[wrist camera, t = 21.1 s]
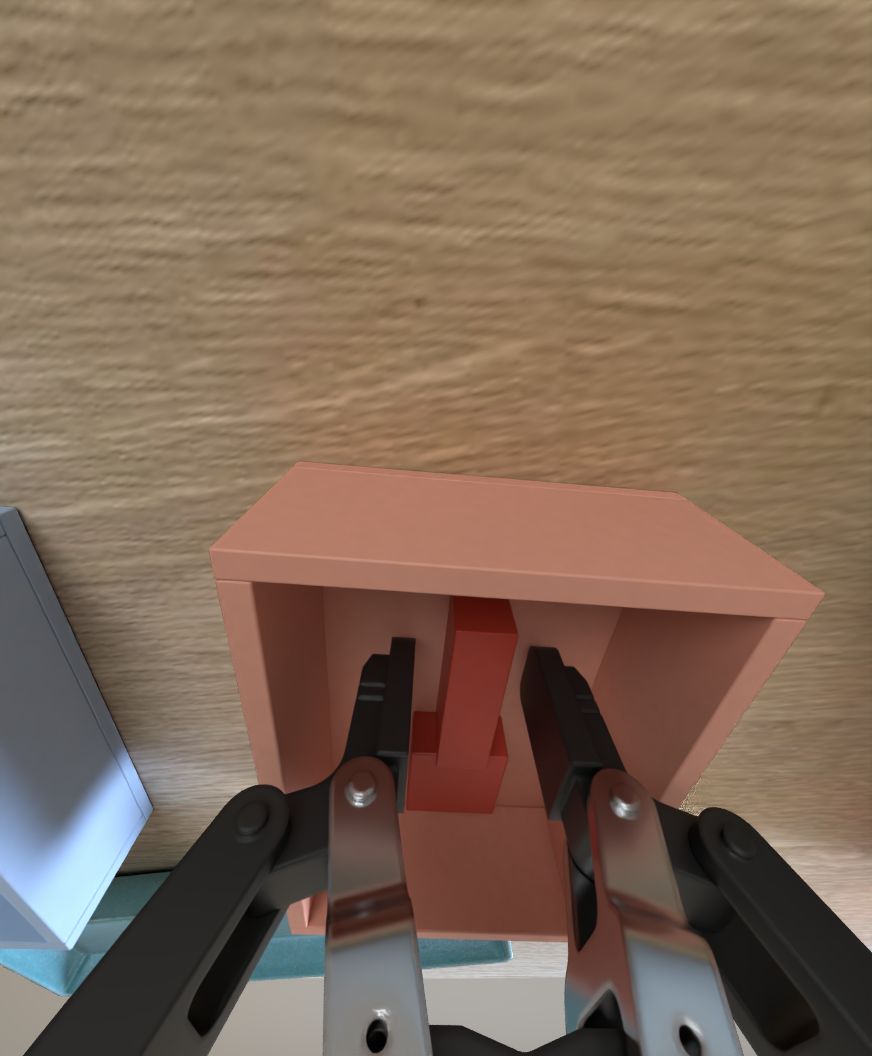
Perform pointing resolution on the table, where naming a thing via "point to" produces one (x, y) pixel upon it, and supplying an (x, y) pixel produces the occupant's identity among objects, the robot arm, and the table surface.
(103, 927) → the rectangular tray
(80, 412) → the table surface
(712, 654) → the red bin
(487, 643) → the red mallet block
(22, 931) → the blue bin
